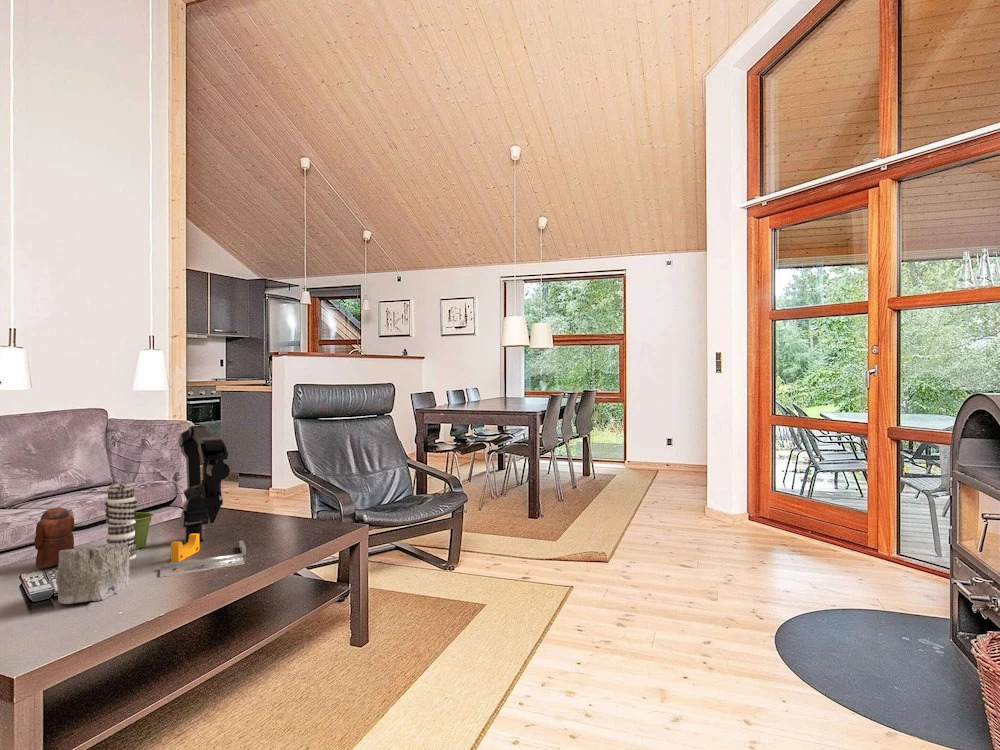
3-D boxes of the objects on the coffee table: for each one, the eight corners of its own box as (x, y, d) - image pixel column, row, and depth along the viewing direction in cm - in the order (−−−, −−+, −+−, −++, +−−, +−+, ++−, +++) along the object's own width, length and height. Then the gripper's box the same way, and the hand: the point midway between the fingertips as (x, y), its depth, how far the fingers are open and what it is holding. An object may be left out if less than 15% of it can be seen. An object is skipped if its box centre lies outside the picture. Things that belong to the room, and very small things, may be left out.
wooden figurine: (58, 557, 207) (58, 504, 207) (76, 557, 206) (76, 504, 206) (29, 568, 195) (29, 512, 195) (48, 569, 195) (48, 512, 195)
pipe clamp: (187, 551, 214) (187, 533, 214) (199, 552, 214) (199, 533, 214) (166, 562, 202) (165, 542, 202) (178, 562, 202) (178, 543, 202)
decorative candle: (118, 563, 200) (118, 487, 200) (98, 561, 203) (98, 485, 203) (143, 556, 208) (143, 482, 208) (123, 553, 212) (123, 480, 211)
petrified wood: (120, 578, 186) (119, 528, 186) (143, 590, 175) (142, 538, 175) (45, 595, 172) (45, 542, 172) (65, 610, 161) (65, 553, 161)
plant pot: (118, 554, 210) (118, 521, 210) (111, 547, 219) (111, 515, 219) (156, 548, 218) (156, 516, 218) (149, 541, 227) (149, 510, 227)
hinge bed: (161, 558, 205) (161, 550, 205) (243, 548, 217) (243, 540, 217) (159, 577, 187) (159, 567, 187) (248, 564, 199) (248, 555, 199)
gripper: (185, 474, 213) (185, 518, 213) (184, 482, 196) (184, 531, 196) (220, 471, 218) (221, 515, 218) (222, 479, 201) (222, 527, 201)
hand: (212, 522), depth 208 cm, fingers closed
